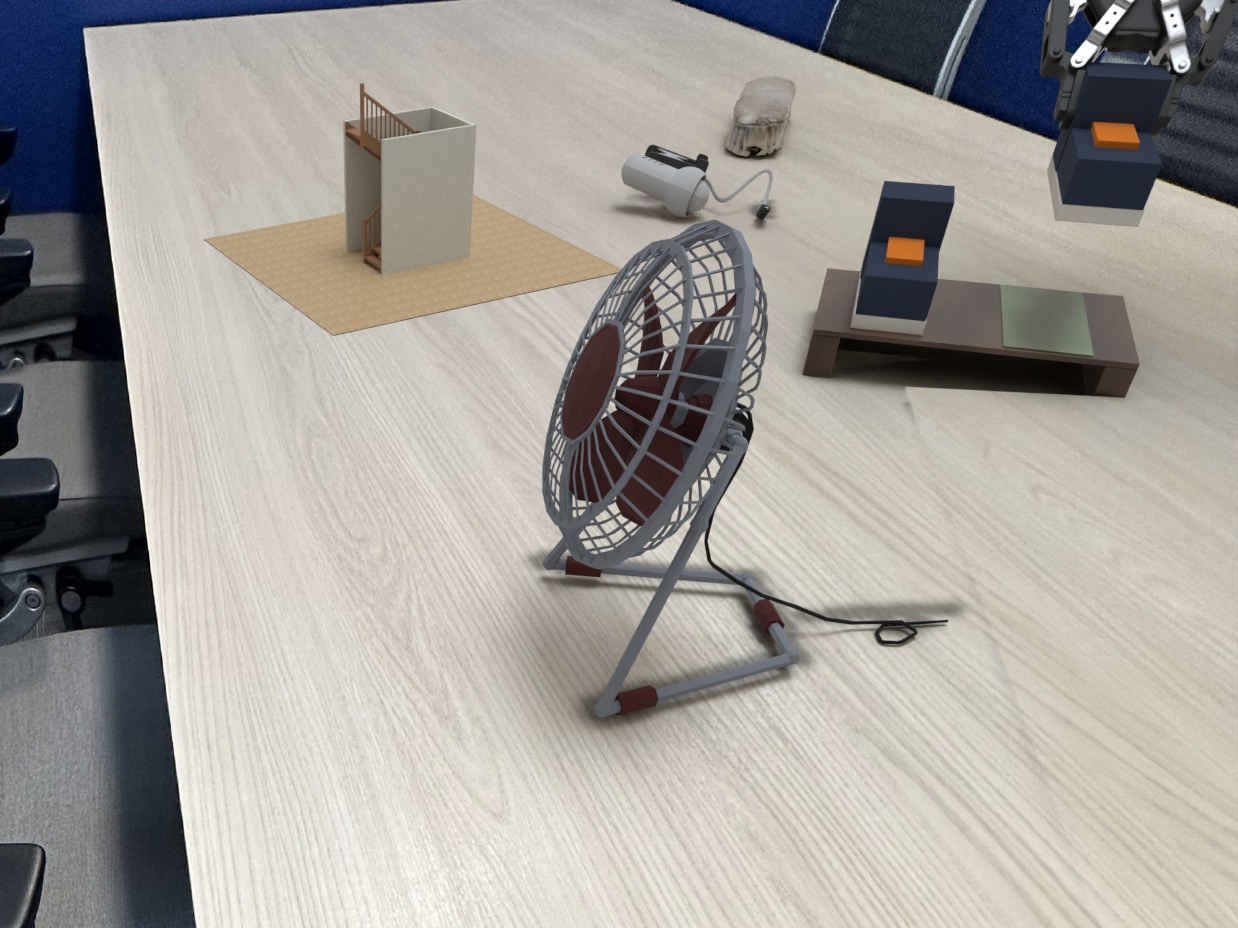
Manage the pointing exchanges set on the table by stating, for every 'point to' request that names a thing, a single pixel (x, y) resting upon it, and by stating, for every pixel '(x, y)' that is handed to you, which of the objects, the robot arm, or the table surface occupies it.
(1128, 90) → the trainer
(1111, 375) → the shoe rack
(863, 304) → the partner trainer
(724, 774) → the table surface
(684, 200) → the clip-on lamp
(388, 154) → the staircase
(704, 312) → the desk fan
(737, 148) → the shoe brush
